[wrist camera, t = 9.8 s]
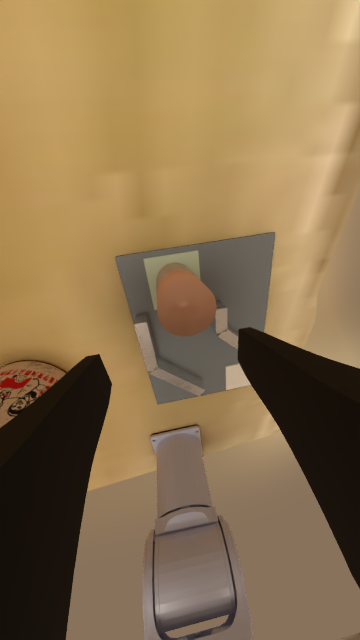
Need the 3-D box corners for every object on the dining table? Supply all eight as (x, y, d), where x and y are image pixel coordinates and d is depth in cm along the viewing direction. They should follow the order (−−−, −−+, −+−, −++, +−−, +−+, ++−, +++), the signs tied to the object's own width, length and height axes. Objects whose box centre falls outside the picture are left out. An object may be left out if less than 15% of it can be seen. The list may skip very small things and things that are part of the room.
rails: (240, 374, 24) (247, 386, 22) (157, 391, 23) (157, 404, 21) (244, 296, 18) (254, 302, 17) (135, 315, 18) (133, 324, 16)
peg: (194, 296, 17) (217, 331, 11) (159, 302, 17) (163, 341, 11) (191, 259, 16) (215, 276, 10) (152, 266, 16) (151, 286, 9)
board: (256, 381, 25) (259, 384, 25) (157, 402, 24) (157, 405, 24) (272, 232, 16) (276, 232, 16) (115, 256, 15) (114, 257, 15)
